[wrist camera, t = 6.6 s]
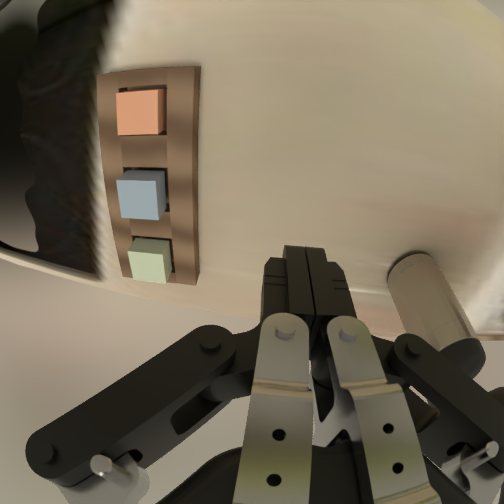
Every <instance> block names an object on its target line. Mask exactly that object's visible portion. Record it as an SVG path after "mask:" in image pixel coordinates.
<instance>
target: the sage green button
mask: <svg viewBox="0 0 504 504" xmlns="http://www.w3.org/2000/svg"><path fill="white" fill-rule="evenodd" d="M128 256H129V261H130V266H131V270H132V275H133V279H134V280H139V281H147V282H155V283H163V284H167V281H168V278H169V276H170V273H171V271H172V264H171V255H170V245H169V241H167V240H155V239H144V238H135V240H134V241H133V243H132V245H131V246H130V248H129V249H128Z"/></svg>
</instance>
